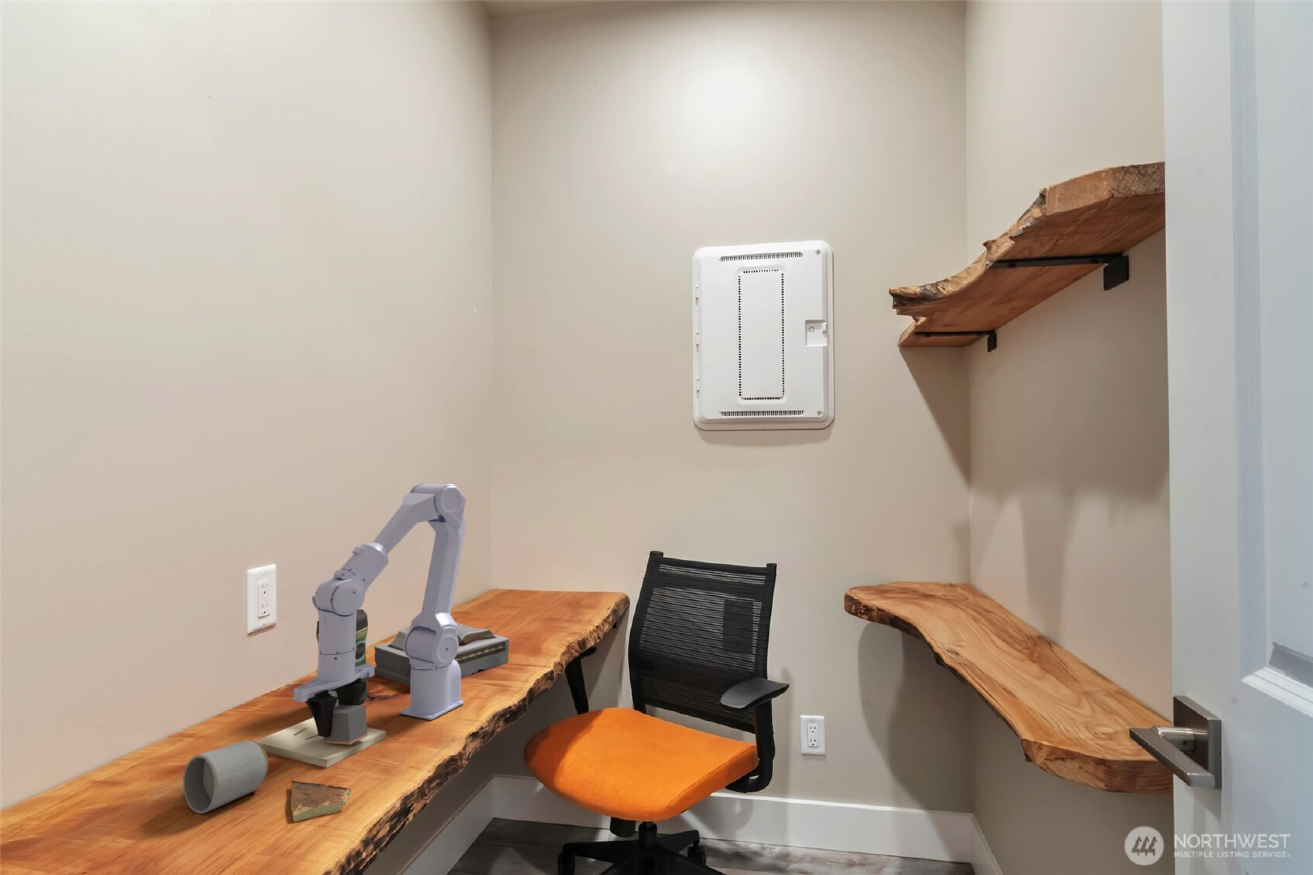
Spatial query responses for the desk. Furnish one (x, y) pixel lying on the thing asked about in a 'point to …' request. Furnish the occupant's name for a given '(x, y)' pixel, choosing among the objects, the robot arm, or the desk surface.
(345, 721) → the block
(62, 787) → the desk surface
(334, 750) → the cream flat board
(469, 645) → the bible
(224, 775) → the ceramic mug
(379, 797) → the desk surface
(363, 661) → the coffee jar
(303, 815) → the shard
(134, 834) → the desk surface
